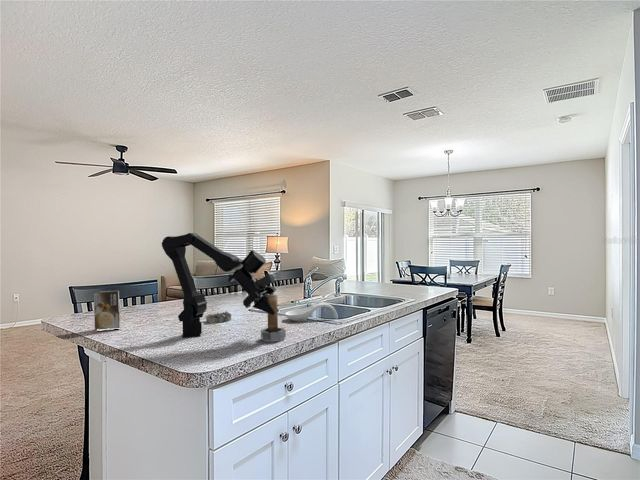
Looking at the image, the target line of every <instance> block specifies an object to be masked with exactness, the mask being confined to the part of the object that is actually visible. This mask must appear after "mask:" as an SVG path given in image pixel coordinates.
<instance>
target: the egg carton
mask: <svg viewBox="0 0 640 480" xmlns="http://www.w3.org/2000/svg"><path fill="white" fill-rule="evenodd" d="M232 316H233V315H232V314H231V313H229V312H228V311H227V310H226V311H223V312H217V313H207V314H206V315H205V321H206V322H205V323H208V324H216V323H223V322H230V321H232Z"/></svg>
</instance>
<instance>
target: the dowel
mask: <svg viewBox="0 0 640 480" xmlns="http://www.w3.org/2000/svg"><path fill="white" fill-rule="evenodd" d="M267 302H268V303H269V305H270V306H271V307H272V309H273V310H274V312H275V314H274V315H272V314H269V313H267V328H268V332H277V331H278V326H279V324H278V323H279V318H278V315H279V314H278V313H279V311H278V310H279V308H278V294H275V293H274V294H271V295H267Z"/></svg>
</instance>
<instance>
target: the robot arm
mask: <svg viewBox="0 0 640 480" xmlns="http://www.w3.org/2000/svg"><path fill="white" fill-rule="evenodd" d="M188 246H193V247H194V248H196V249H197V250H198V251H200V252H201V253H203V254H204V255H206V256H207V257H209V258H211V260H213V261H214V262H215V265H216V266H217V267H219V269H220V270H221V271H223V272H225V273H229V272H232V273H231V274H228V280H227V281H228V283H231V282H232V283H233V282H234V281H235V282H236V283H237V284H238V285H239V287H240V288H241V292H242V293H246V294H247V296H246V297H245V298H244V299H243V300H242V305H243V306H244V307H245V308H246V309H249V308H250V307H252V308H255V309H258V310H260V311H263V312H265V313H267V314H268V313H269V314H272V315H274V314H275V312H274V310H273V309H272V307H271V306H270V305H269V303H268V302H267V295H271V294H275V292H276V291H277V288H276V287H275V286H274V285H271V284H274V283H276V280H275V278H276V276H275V275H274V274H273V273H269V272H268V273H266V274H264V276H263V277H261V278H258V277H254V276H253V275H252V274H256V273H257V272H259V270H260V269H261V268H262V267H263V266H264V265H265V264H266V263H267V260H266V259H265V257H264V255H261V254H260V253H258V252H257V251H255V250H253V249H252V250H250V251H249V252H248V254H247V255H246V257H245V258H244V259H242V258H240V257H238V256H237V255H234V254H232V253H230V252H226V251H223V250H221V249H219V248H218V247H217V246H215V245H214V244H212V243H210V241H208V240H205V238H203V237H201V236H200V235H199V234H198V233H196V232H189V233H186V234H182V235H177V236H166V237H164V238H163V239H162V242H161V247H162V250H163V251H164V254H166V256H167V257H168V259H170V260H171V261H172V264H173V267H174V269H175V270H174V271H175V274H176V276H177V279H178V282H179V285H180V287H181V290H182V293H183V300H182V304H183V305H182V307H183V310H182V311H181V312H180V313H179V314H178V315H177V317H178V320H179V322H182V334H181V335H182V338H184V339H186V338H193V337H202V336H201V334H202V333H203V330H202V327H203V326H202V321H201V318H203V316H204V314H205V312H206V311H207V309H208V306H207V304H208V302H207V299H206V296H205V294H204V293H199V292H198V289H197V288H196V285H195V282H194V280H193V276H192V273H191V271H190V268H189V265H188V263H187V262H188V261H187V258H186V251H187V250H186V249H187V247H188ZM233 271H234V272H233ZM251 304H253V305H251ZM279 311H280V310H279V309H278V312H279Z"/></svg>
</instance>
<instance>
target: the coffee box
mask: <svg viewBox="0 0 640 480" xmlns="http://www.w3.org/2000/svg"><path fill="white" fill-rule="evenodd" d="M93 307H94V308H93V310H94V311H93V312H94V315H93V316H94V331H95V330H97V329H107V328H120V329H121V312H120V290H119V289H115V290H100V291H95V292H94V293H93Z"/></svg>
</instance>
